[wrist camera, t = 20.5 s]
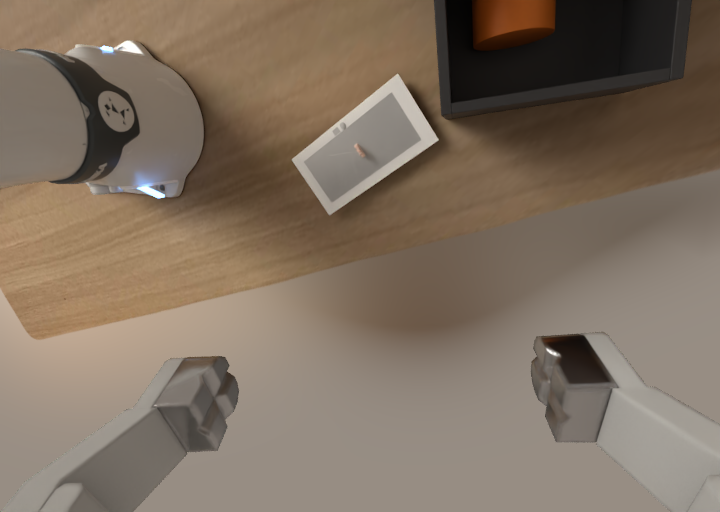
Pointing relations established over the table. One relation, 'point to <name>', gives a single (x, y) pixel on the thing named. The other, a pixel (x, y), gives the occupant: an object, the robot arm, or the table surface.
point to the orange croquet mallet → (511, 22)
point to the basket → (561, 55)
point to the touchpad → (365, 146)
